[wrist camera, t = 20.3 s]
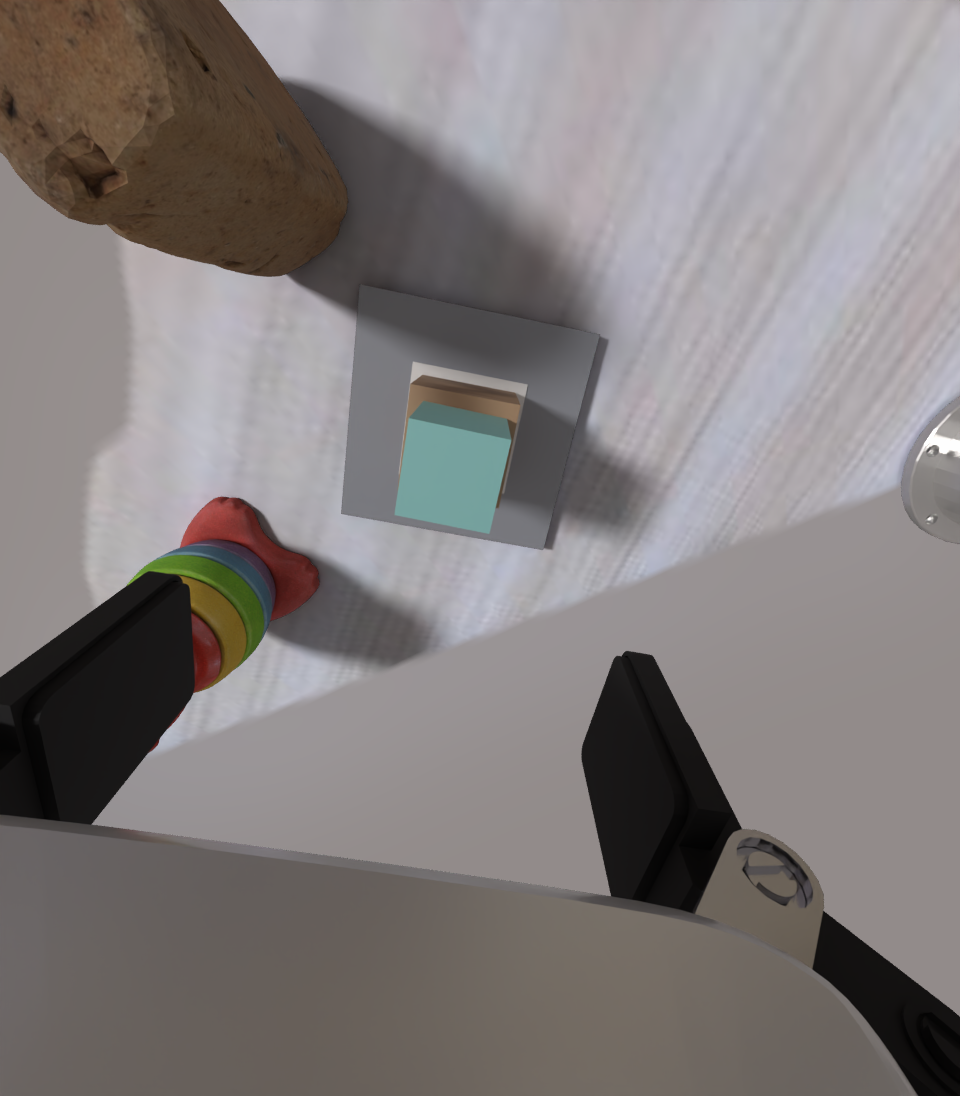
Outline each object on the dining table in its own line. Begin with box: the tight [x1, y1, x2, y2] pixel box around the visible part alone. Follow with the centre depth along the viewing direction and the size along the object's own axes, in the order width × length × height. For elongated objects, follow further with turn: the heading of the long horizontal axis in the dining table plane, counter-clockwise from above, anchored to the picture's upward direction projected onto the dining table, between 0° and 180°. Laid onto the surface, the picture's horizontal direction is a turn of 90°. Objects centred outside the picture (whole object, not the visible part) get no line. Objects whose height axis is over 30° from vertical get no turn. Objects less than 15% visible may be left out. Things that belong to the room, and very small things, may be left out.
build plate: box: [341, 284, 600, 550], centre depth 36 cm, size 16×16×1 cm
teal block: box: [394, 401, 511, 534], centre depth 28 cm, size 5×5×6 cm
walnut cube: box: [397, 375, 521, 509], centre depth 33 cm, size 6×6×6 cm
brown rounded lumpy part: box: [0, 0, 348, 277], centre depth 22 cm, size 11×8×20 cm
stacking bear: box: [127, 497, 319, 753], centre depth 34 cm, size 11×10×18 cm
